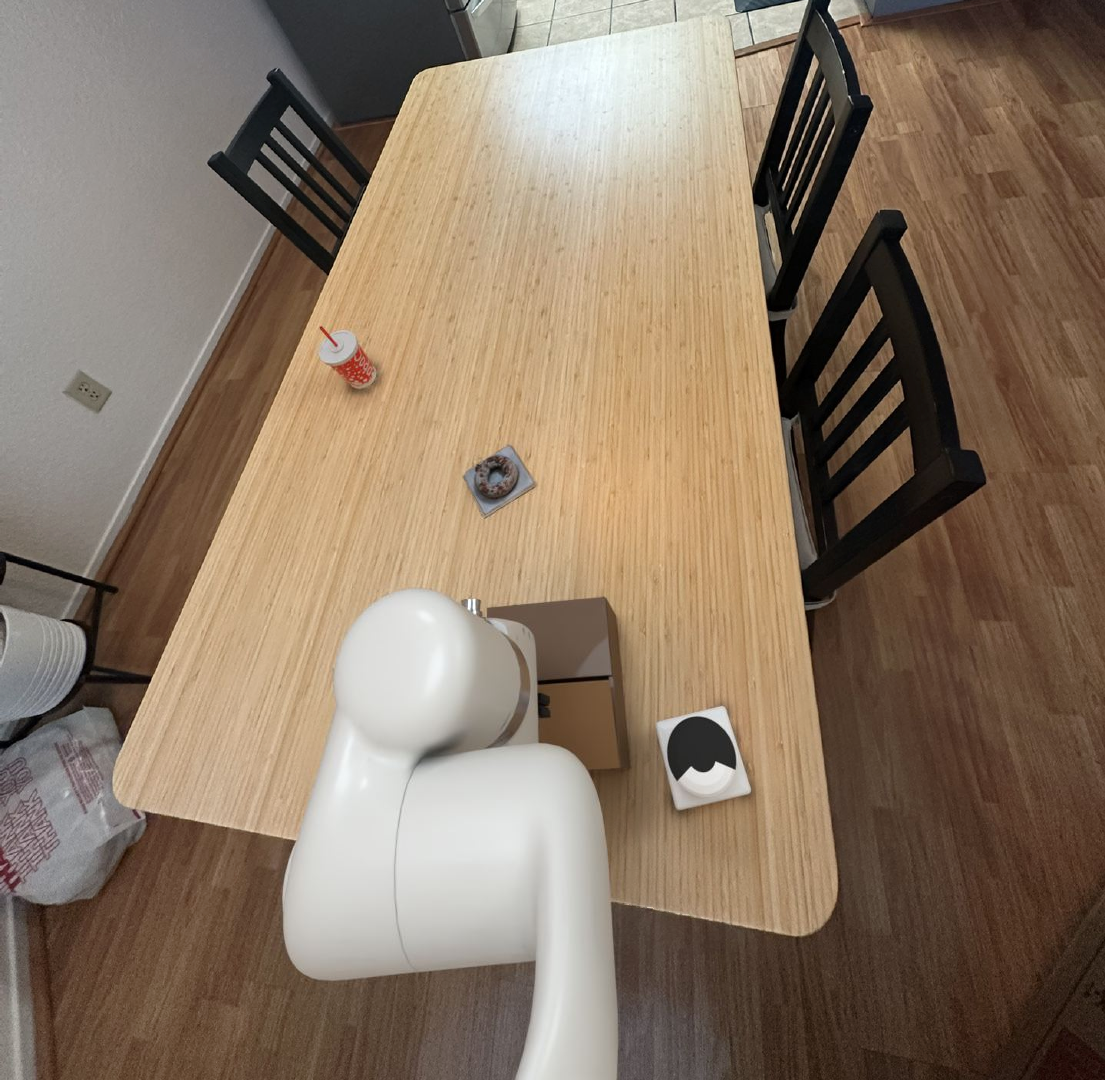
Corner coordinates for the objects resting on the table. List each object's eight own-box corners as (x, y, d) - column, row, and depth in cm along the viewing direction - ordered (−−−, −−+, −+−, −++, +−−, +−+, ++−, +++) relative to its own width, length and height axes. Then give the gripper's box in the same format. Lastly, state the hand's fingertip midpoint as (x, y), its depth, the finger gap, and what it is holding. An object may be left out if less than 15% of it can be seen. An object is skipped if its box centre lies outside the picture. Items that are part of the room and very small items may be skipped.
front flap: (620, 766, 57) (619, 768, 57) (485, 773, 59) (484, 775, 59) (609, 679, 59) (609, 680, 58) (478, 689, 61) (477, 690, 60)
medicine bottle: (658, 725, 67) (650, 718, 57) (722, 710, 66) (726, 700, 57) (678, 807, 63) (674, 814, 53) (747, 790, 62) (756, 795, 53)
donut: (511, 442, 89) (508, 436, 88) (536, 485, 85) (533, 480, 83) (461, 473, 88) (456, 468, 86) (484, 518, 84) (479, 513, 82)
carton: (630, 768, 65) (620, 768, 57) (510, 774, 67) (483, 775, 59) (616, 615, 74) (605, 595, 65) (510, 624, 75) (486, 606, 67)
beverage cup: (366, 397, 99) (323, 349, 88) (338, 386, 101) (292, 338, 90) (388, 367, 101) (348, 316, 90) (359, 356, 104) (318, 306, 93)
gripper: (423, 572, 45) (492, 620, 59) (404, 838, 36) (491, 816, 51) (525, 562, 44) (570, 614, 58) (530, 832, 35) (581, 812, 50)
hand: (533, 708), depth 55 cm, fingers closed
